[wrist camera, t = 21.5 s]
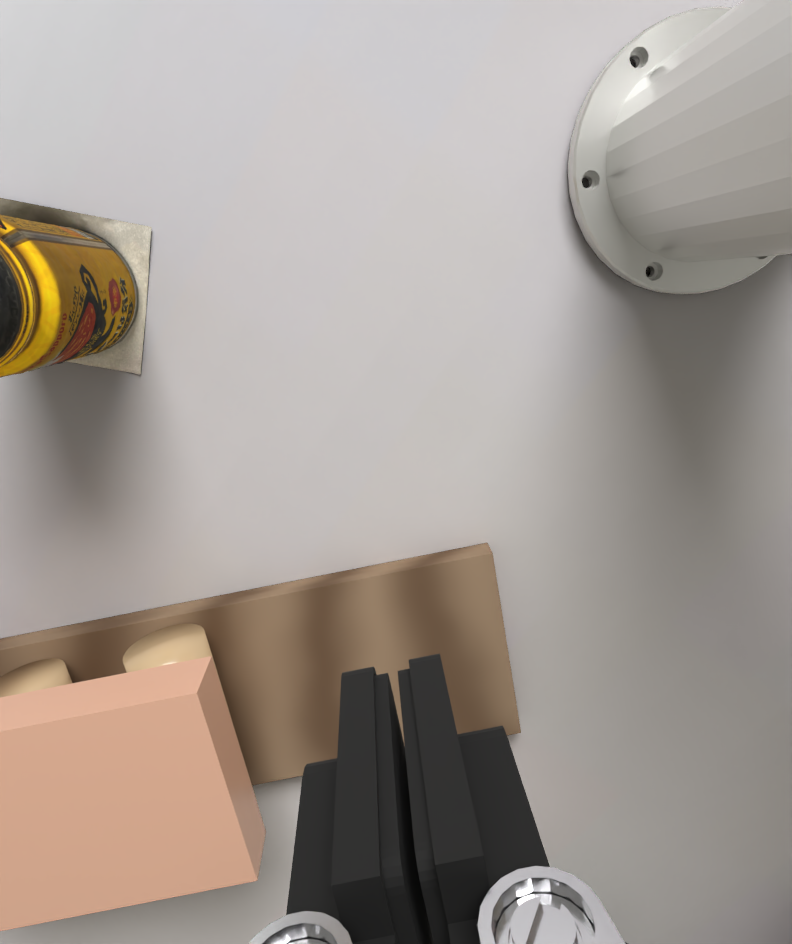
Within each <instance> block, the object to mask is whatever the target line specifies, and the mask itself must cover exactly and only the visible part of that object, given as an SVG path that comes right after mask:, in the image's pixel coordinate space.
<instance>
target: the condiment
mask: <svg viewBox="0 0 792 944" xmlns="http://www.w3.org/2000/svg"><path fill="white" fill-rule="evenodd" d="M150 239H151V227H148V226H143V225H138V224H133V223H128V222H122V221H117V220H112V219H106V218H102V217H96V216H91V215H86V214H81V213H75V212H70V211H65V210H61V209H55V208H50V207H45V206H39V205H34V204H29V203H24V202H18V201H14V200H8V199H3V198H0V378H1V377H3V376H8V375H13V374H21V373H24V372H27V371H33V370H35V369H39V368H41V367H46V366H50V365H53V364H59V363H62V362H65V361H66V362H72V363H77V364H83V365H89V366H95V367H101V368H107V369H112V370H119V371H125V372H130V373H135V374H141V362H142V352H143V339H144V329H145V316H146V302H147V287H148V274H149V253H150Z"/></svg>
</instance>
